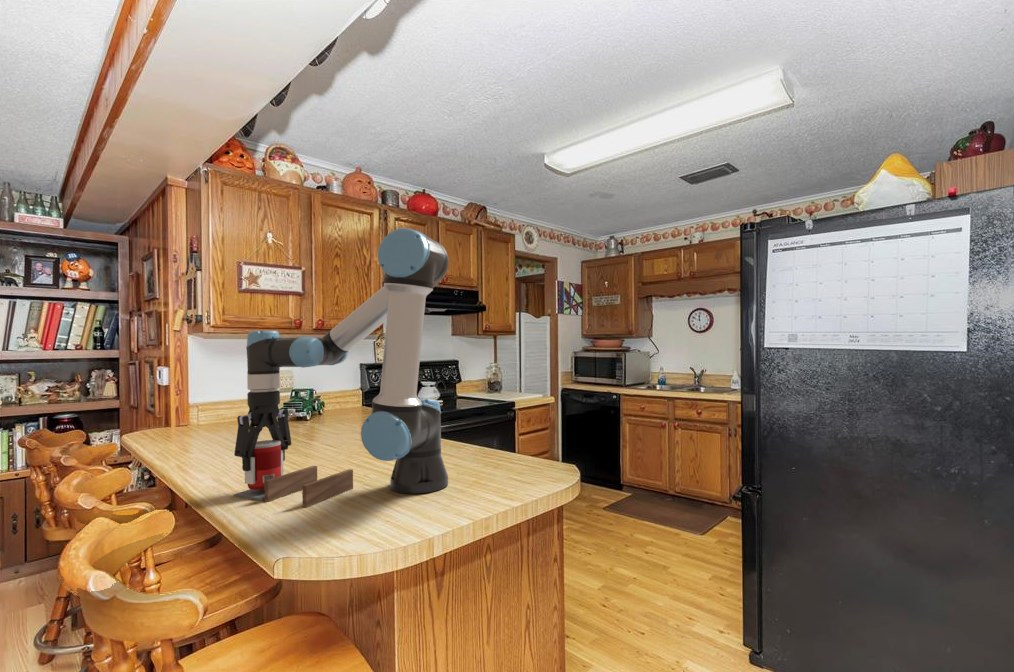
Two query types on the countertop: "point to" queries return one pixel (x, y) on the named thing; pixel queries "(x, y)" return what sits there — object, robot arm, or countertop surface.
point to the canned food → (266, 462)
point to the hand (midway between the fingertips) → (264, 478)
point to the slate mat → (251, 494)
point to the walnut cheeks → (308, 485)
